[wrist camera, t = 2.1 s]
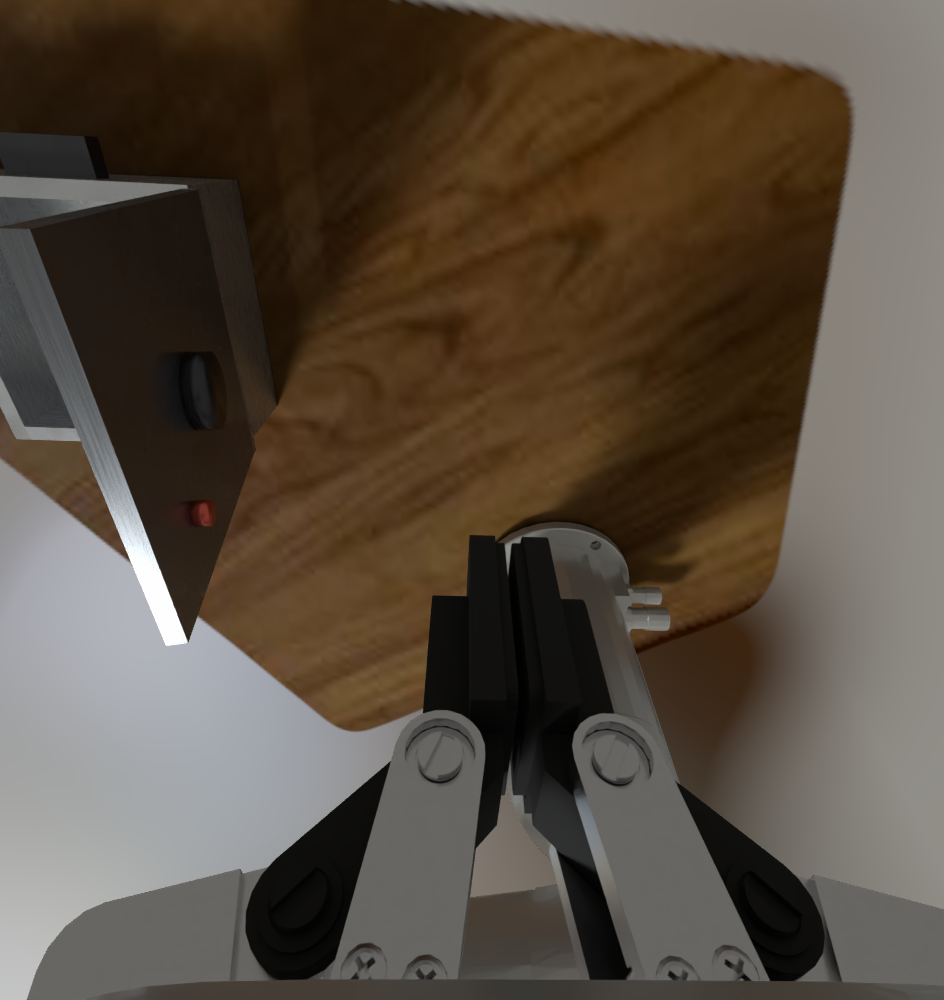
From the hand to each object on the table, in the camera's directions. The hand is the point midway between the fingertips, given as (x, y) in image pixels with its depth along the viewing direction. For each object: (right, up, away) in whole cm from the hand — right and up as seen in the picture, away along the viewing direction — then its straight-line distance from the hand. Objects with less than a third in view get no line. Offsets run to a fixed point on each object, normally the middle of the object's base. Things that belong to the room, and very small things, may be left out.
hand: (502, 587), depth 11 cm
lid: (-12, +6, +9) cm, 16 cm away
